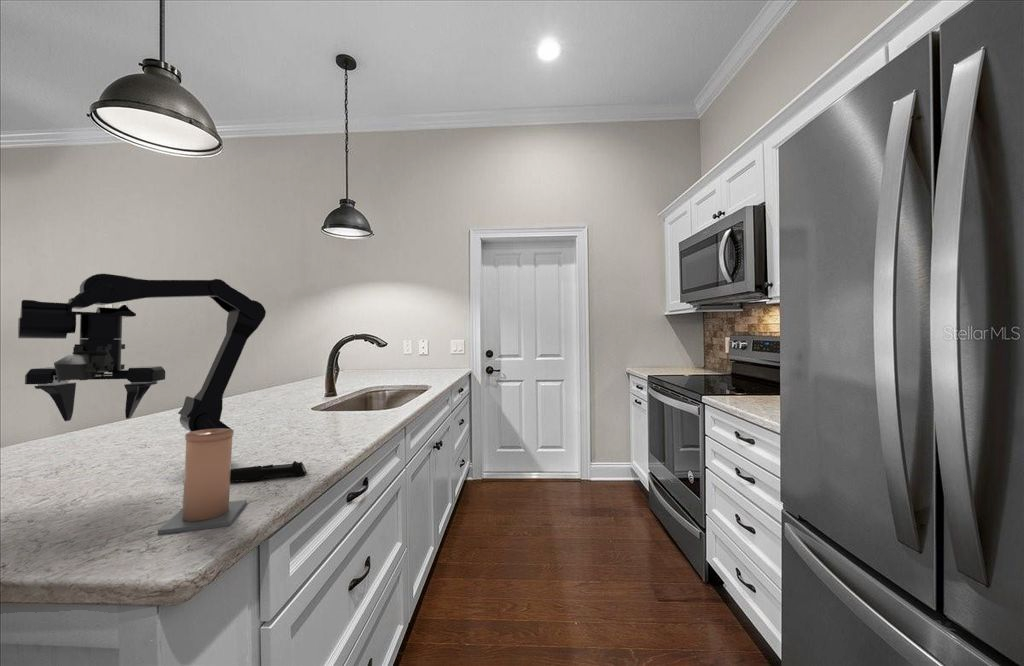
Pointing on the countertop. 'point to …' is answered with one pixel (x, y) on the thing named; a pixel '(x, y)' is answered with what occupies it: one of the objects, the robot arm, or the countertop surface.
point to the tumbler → (207, 474)
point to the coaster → (224, 520)
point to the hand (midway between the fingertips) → (98, 419)
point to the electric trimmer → (267, 472)
